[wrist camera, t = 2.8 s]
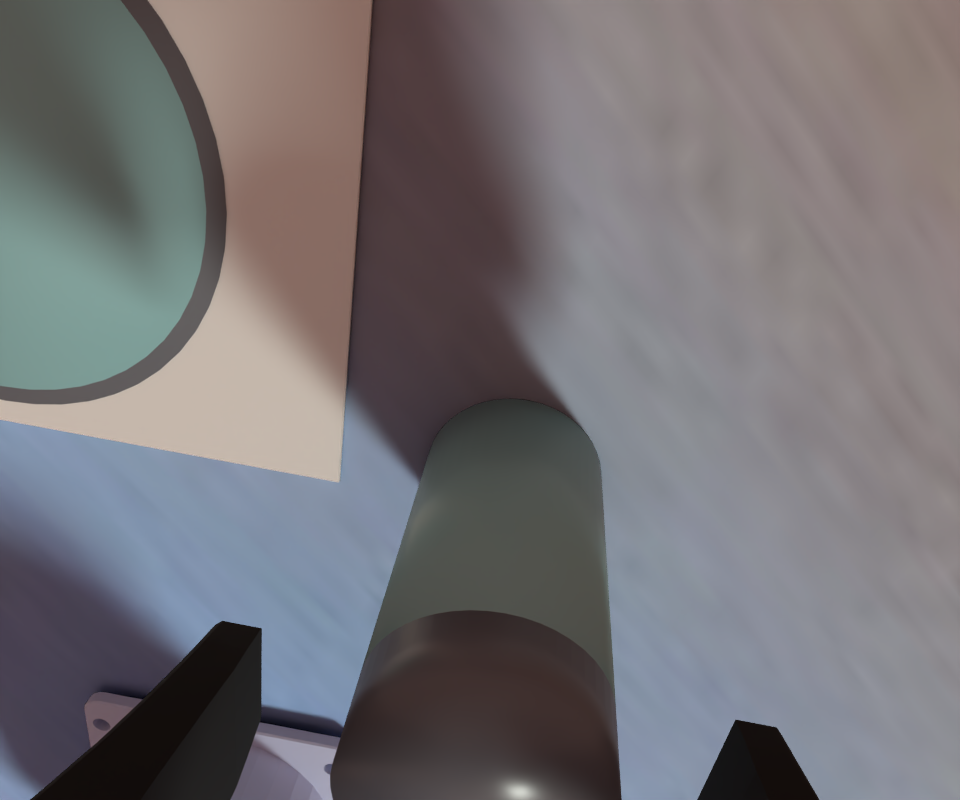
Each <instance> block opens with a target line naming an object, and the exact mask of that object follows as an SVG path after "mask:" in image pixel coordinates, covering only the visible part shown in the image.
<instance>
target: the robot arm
mask: <svg viewBox="0 0 960 800" xmlns="http://www.w3.org/2000/svg"><path fill="white" fill-rule="evenodd" d="M261 643H262V628H256V627H251V626H246V625H241V624H236V623H230V622H225V621H221V622H220V623H218V624H216V625H215V626H214V627H213V628H212V629H211V630H210V631H209V632H208V633H207V634H206V636H205V637H204V638H203V639H202V640H201V641H200V642H199V643H198V644H197V645H196V646H195V647H194V648H193V649H192V650H191V651H190V652H189V654H188V655H187V656H186V657H185V658H184V659H183V660H182V661H181V662H180V663H179V664H178V665H177V666H176V667H175V668H174V669H173V670H172V671H171V672H170V673H169V674H168V675H167V676H166V677H165V678H164V679H163V680H162V681H161V682H160V683H159V684H158V685H157V686H156V687H155V688H154V689H153V690H152V691H151V692H150V693H149V694H148V695H147V696H146V697H145V698H144V699H138V698H133V697H127V696H122V695H117V694H112V693H107V692H97V693H94V694H93V695H92V696H91V697H90V698H89V700H88V701H87V703H86V704H85V707H84V711H85V717H86V723H87V729H88V735H89V741H90V747H91V748H90V749H89V750H88V751H87V752H85V753H84V754H83V755H82V756H81V757H80V758H78V759H77V760H76V761H75V762H74V763H73V764H71V765H70V766H69V767H68V768H67V769H66V770H65V771H63V772H62V773H61V774H60V775H59V776H58V777H56V778H55V779H54V780H53V781H52V782H51V783H50V784H48V785H47V786H46V787H45V788H44V789H43V790H41V791H40V792H39V793H38V794H37V795H35V796H34V797H33V798H32V799H30V800H333V798H332V793H331V789H330V774H331V768H332V763H333V760H334V757H335V754H336V751H337V747H338V744H339V741H340V738H339V737H334V736H329V735H324V734H319V733H314V732H308V731H303V730H298V729H293V728H288V727H283V726H277V725H272V724H267V723H262V722H260V720H261ZM697 800H819V798H818V797H817V795H816V793H815V792H814V790H813V788H812V786H811V785H810V783H809V781H808V780H807V778H806V776H805V774H804V773H803V771H802V769H801V768H800V766H799V764H798V762H797V761H796V759H795V757H794V756H793V754H792V752H791V750H790V749H789V747H788V745H787V744H786V742H785V740H784V738H783V737H782V735H781V733H780V732H779V730H778V729H777V728H776V727H771V726H766V725H761V724H755V723H750V722H745V721H740V720H735V722H734V724H733V726H732V728H731V730H730V733H729V735H728V737H727V739H726V741H725V743H724V745H723V747H722V749H721V751H720V753H719V756H718V758H717V760H716V762H715V764H714V766H713V768H712V770H711V772H710V774H709V776H708V779H707V781H706V783H705V785H704V787H703V789H702V791H701V793H700V795H699V797H698V799H697Z"/></svg>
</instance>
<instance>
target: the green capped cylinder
mask: <svg viewBox="0 0 960 800" xmlns="http://www.w3.org/2000/svg"><path fill="white" fill-rule="evenodd" d="M330 789H331V793H332V798H333V800H621V785H620V768H619V752H618V736H617V720H616V704H615V687H614V671H613V655H612V639H611V623H610V606H609V590H608V574H607V558H606V542H605V525H604V509H603V493H602V477H601V467H600V461H599V458H598V454H597V452H596V449H595V447H594V445H593V443H592V442H591V440H590V439H589V437H588V436H587V434H586V433H585V432H584V431H583V430H582V428H581V427H580V426H579V425H577V424H576V423H575V422H574V421H573V420H572V419H570V418H569V417H567V416H566V415H564V414H563V413H561V412H559V411H557V410H555V409H553V408H552V407H549V406H546V405H543V404H541V403H537V402H533V401H528V400H520V399H500V400H492V401H487V402H483V403H480V404H477V405H474V406H472V407H469V408H467V409H466V410H464V411H462V412H460V413H459V414H457V415H456V416H454V417H453V418H452V419H451V420H450V421H448V422H447V423H446V424H445V425H444V426H443V428H442V429H441V430H440V431H439V433H438V434H437V436H436V438H435V439H434V441H433V443H432V446H431V449H430V451H429V455H428V458H427V461H426V464H425V467H424V471H423V474H422V477H421V480H420V484H419V487H418V490H417V493H416V496H415V500H414V503H413V506H412V509H411V513H410V516H409V519H408V522H407V525H406V529H405V532H404V535H403V538H402V541H401V545H400V548H399V551H398V554H397V558H396V561H395V564H394V567H393V570H392V574H391V577H390V580H389V583H388V587H387V590H386V593H385V596H384V599H383V603H382V606H381V609H380V612H379V615H378V619H377V622H376V625H375V628H374V632H373V635H372V638H371V641H370V644H369V648H368V651H367V654H366V657H365V661H364V664H363V667H362V670H361V673H360V677H359V680H358V683H357V686H356V689H355V693H354V696H353V699H352V702H351V706H350V709H349V712H348V715H347V718H346V722H345V725H344V728H343V731H342V735H341V738H340V741H339V744H338V747H337V751H336V754H335V757H334V760H333V763H332V768H331V774H330Z"/></svg>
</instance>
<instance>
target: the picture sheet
mask: <svg viewBox="0 0 960 800" xmlns="http://www.w3.org/2000/svg"><path fill="white" fill-rule="evenodd" d="M372 3H373V0H0V420H5V421H11V422H16V423H21V424H27V425H32V426H38V427H43V428H48V429H54V430H59V431H65V432H70V433H75V434H81V435H86V436H92V437H97V438H102V439H108V440H113V441H119V442H124V443H129V444H135V445H140V446H145V447H151V448H156V449H162V450H167V451H172V452H178V453H183V454H189V455H194V456H199V457H205V458H210V459H216V460H221V461H226V462H232V463H237V464H243V465H248V466H253V467H259V468H264V469H270V470H275V471H280V472H286V473H291V474H297V475H302V476H307V477H313V478H318V479H324V480H329V481H334V482H339V481H340V473H341V458H342V444H343V429H344V414H345V400H346V385H347V370H348V356H349V341H350V326H351V311H352V297H353V282H354V267H355V253H356V238H357V223H358V209H359V194H360V179H361V164H362V150H363V135H364V120H365V106H366V91H367V76H368V62H369V47H370V32H371V17H372Z"/></svg>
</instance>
